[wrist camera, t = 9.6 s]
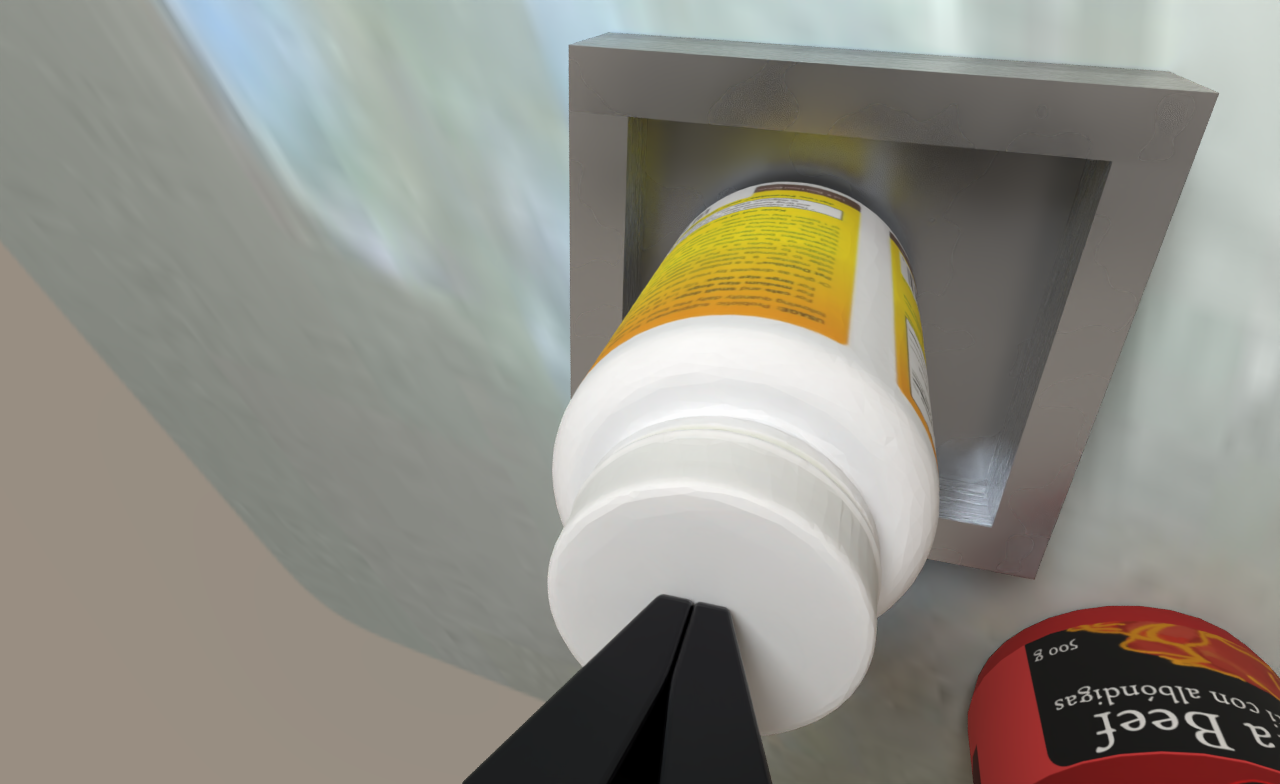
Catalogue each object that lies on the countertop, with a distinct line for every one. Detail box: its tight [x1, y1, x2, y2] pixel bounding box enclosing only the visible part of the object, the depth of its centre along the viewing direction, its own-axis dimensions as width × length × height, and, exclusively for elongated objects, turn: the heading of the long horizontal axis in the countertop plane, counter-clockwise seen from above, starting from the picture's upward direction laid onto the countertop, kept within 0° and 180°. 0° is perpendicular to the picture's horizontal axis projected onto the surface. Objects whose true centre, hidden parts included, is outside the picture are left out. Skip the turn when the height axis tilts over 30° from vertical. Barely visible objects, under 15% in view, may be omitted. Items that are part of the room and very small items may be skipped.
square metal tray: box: [569, 33, 1219, 579], centre depth 18 cm, size 11×10×3 cm
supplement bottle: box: [547, 182, 940, 736], centre depth 14 cm, size 6×6×10 cm
